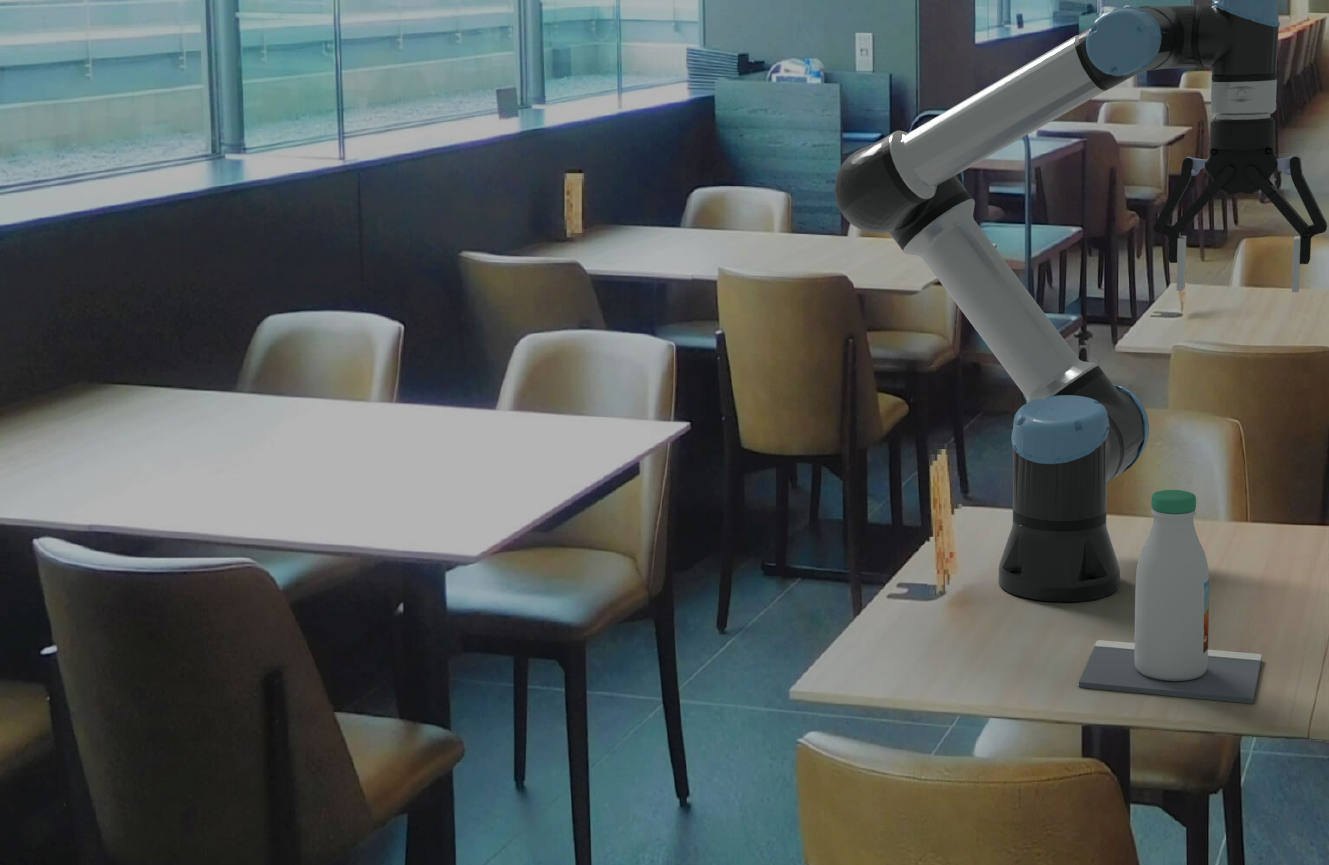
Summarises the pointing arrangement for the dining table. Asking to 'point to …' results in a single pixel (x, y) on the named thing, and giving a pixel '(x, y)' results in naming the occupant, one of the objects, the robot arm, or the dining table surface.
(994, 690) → the dining table surface
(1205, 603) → the milk bottle
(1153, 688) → the mat
